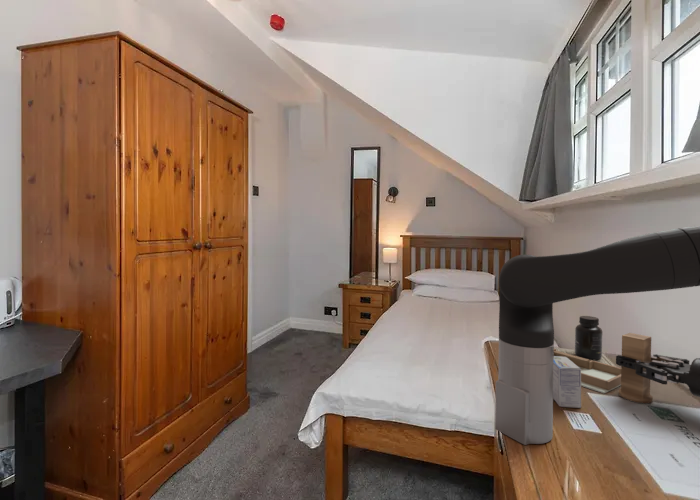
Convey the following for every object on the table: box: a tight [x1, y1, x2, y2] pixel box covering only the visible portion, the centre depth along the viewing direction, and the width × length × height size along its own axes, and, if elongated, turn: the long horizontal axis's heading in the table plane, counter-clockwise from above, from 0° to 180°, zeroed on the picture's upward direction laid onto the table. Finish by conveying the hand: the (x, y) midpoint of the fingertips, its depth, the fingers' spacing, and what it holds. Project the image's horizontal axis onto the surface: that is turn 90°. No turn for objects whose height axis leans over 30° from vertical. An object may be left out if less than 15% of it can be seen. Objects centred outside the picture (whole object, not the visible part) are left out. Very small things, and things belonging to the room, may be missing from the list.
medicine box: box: [553, 356, 582, 409], centre depth 78 cm, size 8×4×9 cm, turn 168°
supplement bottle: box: [574, 315, 603, 361], centre depth 105 cm, size 7×7×12 cm
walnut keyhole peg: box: [618, 332, 654, 404], centre depth 79 cm, size 6×6×14 cm
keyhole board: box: [554, 348, 621, 395], centre depth 93 cm, size 16×19×3 cm
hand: (621, 357), depth 81 cm, fingers closed on walnut keyhole peg, 4 cm apart
